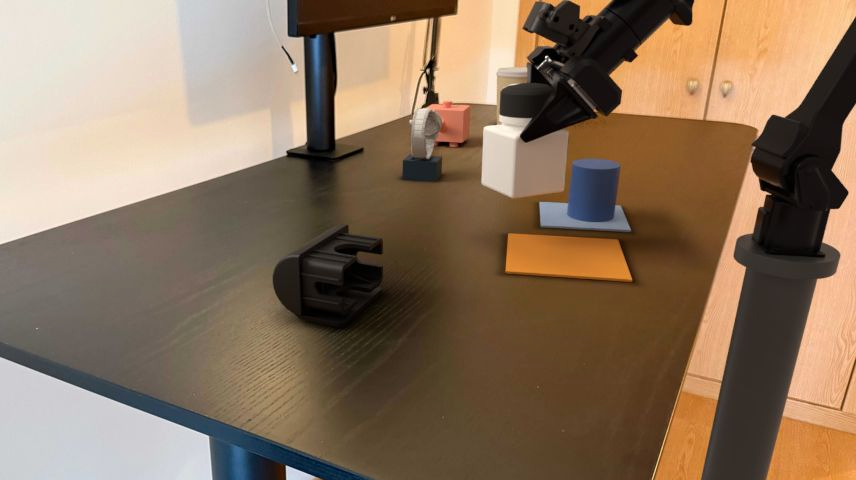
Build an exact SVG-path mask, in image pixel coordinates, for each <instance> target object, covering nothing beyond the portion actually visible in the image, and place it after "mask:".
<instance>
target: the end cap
mask: <svg viewBox="0 0 856 480" xmlns="http://www.w3.org/2000/svg"><path fill="white" fill-rule="evenodd" d="M349 231H350V230H349V224H344V223H343V224H338V225H334V226H332V227H330V228H329V229H327V230H326V231H324V232H322V233H321V234H319V235H318V236H316V237H314V238H313V239H311V240H309V241H308V242H306V243H305V244H302V245H301V246H299V247H298V248H296V249H294V250H293V251H292V252H290V253H288V254H287V255H285V256H283V257H282V258H281V259H279V261H278V262H277V263H276V265H275V267H274V269H273V273H272V287H273V290H274V293H275V295H276V297H277V299H278V301H279V302H280V304H282V306H283V307H284V308H285V309H286V310H288V311H289V312H290V313H292V314H294V315H295V316H296V317H297V318H298V319H299V320H302V321H304V322H307V323H311V324H315V325H321V326H325V327H330V328H335V329H343V328H345V327H346V326H348V324H350V323H351V322H352V321H353V320H355V318H357V317H358V316H359V315H360V314H361V313H362V312H364V310H365V309H367V308H368V307H369V306H370V305H371V304H372V303H373V302H374V301H376V300H377V299H378V298H379V297H380V296H381V294H382V288H381V287H380V285H381V284H382V283H383V279H384V265H382V264H375V263H369V262H364V261H360V260H359V258H358V253H359V252H361V253H365V254H366V253H367V254H374V255H379V256H382V255H383V254H384V239H383V238H381V237H375V236H368V235H362V234H355V233H350V232H349Z"/></svg>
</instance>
